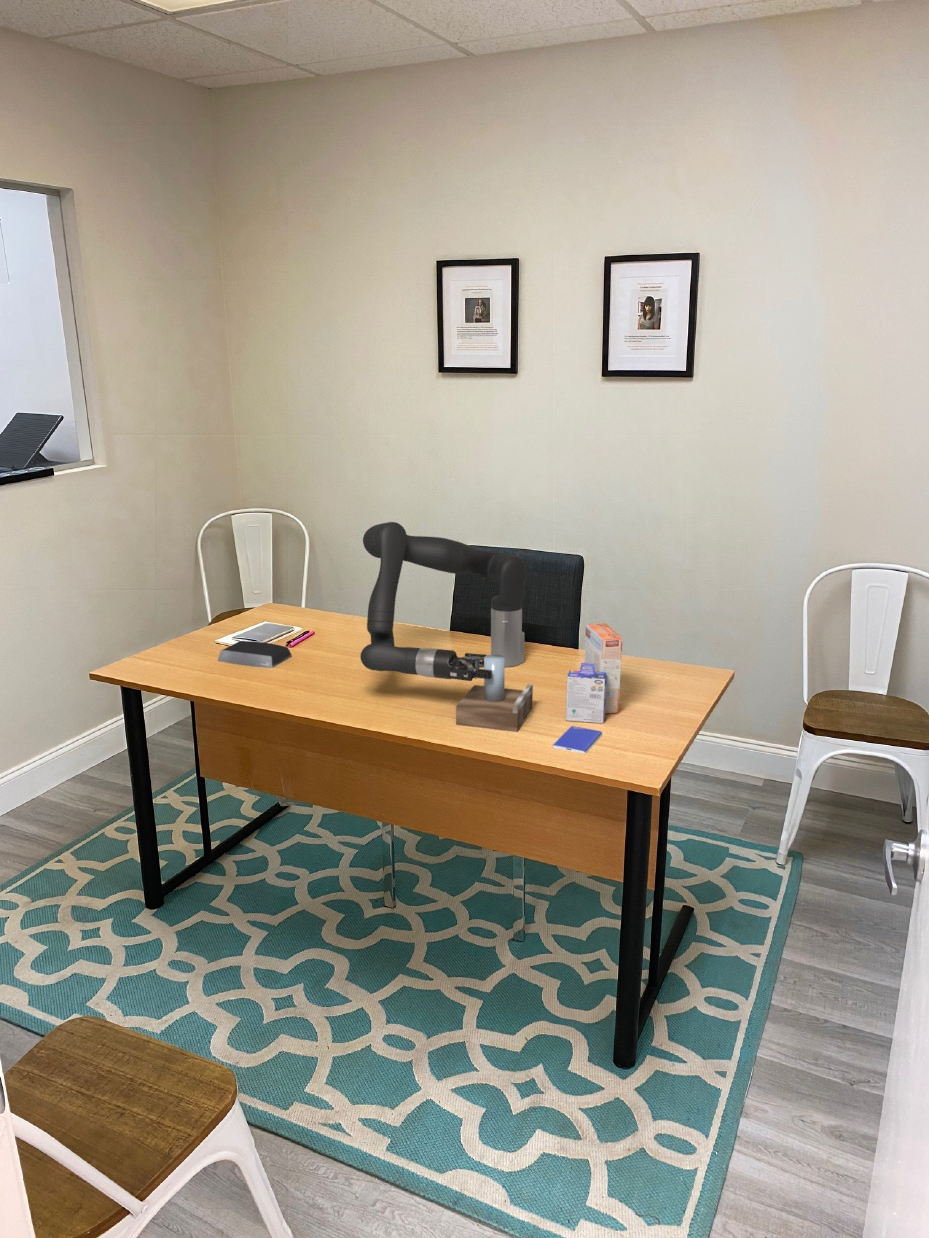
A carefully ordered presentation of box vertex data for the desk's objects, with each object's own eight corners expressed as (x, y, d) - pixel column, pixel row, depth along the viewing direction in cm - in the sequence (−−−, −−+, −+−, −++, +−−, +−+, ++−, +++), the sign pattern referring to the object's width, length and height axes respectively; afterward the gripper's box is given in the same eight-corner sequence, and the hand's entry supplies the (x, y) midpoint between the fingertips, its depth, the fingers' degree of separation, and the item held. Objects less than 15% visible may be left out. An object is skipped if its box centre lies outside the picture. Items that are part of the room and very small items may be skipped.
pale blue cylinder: (487, 693, 244) (487, 653, 241) (506, 695, 243) (506, 655, 240) (481, 700, 240) (481, 660, 237) (501, 702, 238) (501, 662, 235)
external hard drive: (270, 670, 279) (269, 657, 278) (216, 663, 286) (215, 650, 285) (293, 657, 291) (293, 644, 290) (240, 650, 297) (239, 638, 296)
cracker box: (619, 713, 244) (623, 637, 238) (597, 715, 243) (600, 638, 237) (603, 694, 257) (606, 621, 252) (582, 696, 257) (584, 623, 251)
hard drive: (570, 725, 234) (552, 744, 224) (602, 731, 231) (585, 750, 220) (570, 731, 235) (552, 750, 224) (601, 737, 231) (584, 756, 221)
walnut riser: (474, 702, 252) (474, 677, 250) (532, 708, 248) (532, 684, 246) (456, 724, 238) (455, 698, 236) (517, 731, 233) (517, 705, 231)
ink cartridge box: (605, 716, 243) (607, 663, 239) (604, 724, 238) (606, 670, 234) (567, 713, 245) (569, 660, 241) (565, 721, 240) (566, 667, 236)
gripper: (426, 657, 236) (488, 664, 231) (444, 641, 249) (503, 647, 244) (427, 686, 238) (488, 692, 233) (445, 668, 251) (503, 674, 246)
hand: (496, 669), depth 239 cm, fingers open, 8 cm apart
